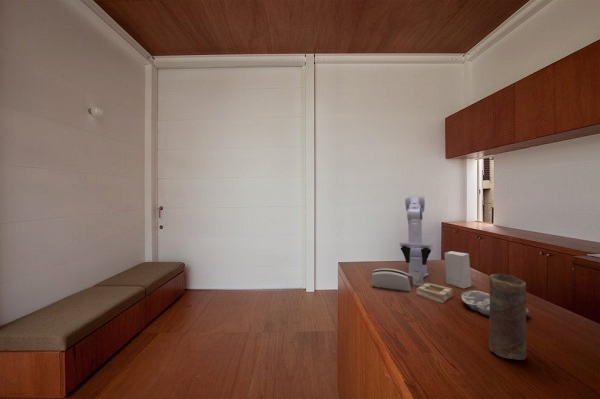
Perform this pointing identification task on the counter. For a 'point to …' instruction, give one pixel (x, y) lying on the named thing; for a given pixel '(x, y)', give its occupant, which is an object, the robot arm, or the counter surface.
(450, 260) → the skincare box
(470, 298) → the brain slice
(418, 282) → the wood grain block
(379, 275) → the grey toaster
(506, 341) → the brown tall cylinder
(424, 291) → the well block
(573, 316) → the counter surface
